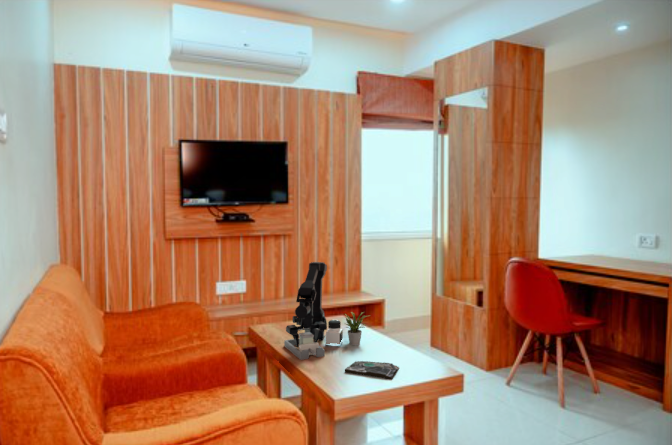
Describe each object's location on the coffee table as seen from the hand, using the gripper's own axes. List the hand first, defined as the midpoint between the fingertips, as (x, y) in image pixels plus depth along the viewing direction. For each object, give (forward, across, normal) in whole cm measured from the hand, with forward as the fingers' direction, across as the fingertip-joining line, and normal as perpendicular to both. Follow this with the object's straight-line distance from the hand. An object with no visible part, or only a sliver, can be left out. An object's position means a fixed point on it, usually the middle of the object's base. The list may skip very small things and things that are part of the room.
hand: (306, 345), depth 225 cm
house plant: (+4, -29, -3) cm, 29 cm away
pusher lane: (+4, 0, -3) cm, 5 cm away
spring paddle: (+3, 0, +6) cm, 7 cm away
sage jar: (+4, 0, 0) cm, 4 cm away
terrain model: (+4, -18, +32) cm, 36 cm away
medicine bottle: (+4, -18, -6) cm, 19 cm away
